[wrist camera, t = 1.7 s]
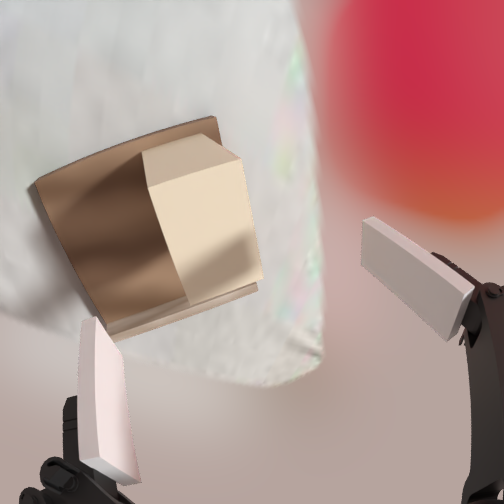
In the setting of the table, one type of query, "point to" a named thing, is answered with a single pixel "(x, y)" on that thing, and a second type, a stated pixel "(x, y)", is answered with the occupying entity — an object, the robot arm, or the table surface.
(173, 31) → the table surface
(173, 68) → the table surface
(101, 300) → the shelf board
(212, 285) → the carton
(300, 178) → the table surface
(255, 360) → the table surface
